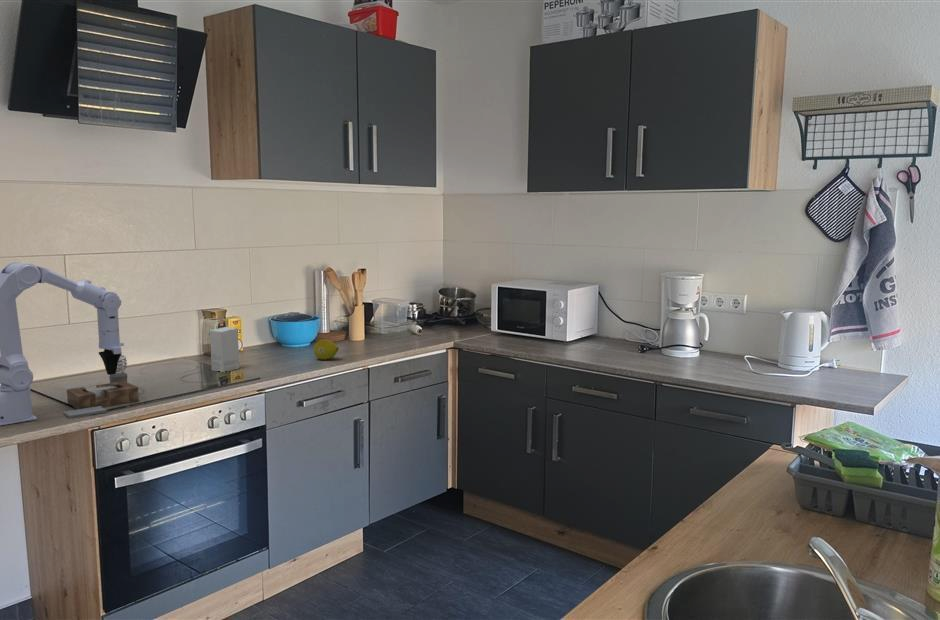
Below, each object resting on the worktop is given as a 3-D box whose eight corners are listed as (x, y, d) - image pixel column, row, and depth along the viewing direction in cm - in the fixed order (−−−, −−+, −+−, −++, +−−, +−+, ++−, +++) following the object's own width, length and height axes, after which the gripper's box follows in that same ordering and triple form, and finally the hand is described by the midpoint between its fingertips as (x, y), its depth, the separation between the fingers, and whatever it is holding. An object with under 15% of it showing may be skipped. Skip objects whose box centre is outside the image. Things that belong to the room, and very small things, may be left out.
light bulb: (118, 392, 242) (116, 356, 240) (105, 391, 244) (103, 355, 242) (132, 389, 247) (130, 353, 245) (119, 387, 249) (117, 352, 247)
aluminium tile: (89, 399, 225) (89, 391, 224) (85, 397, 228) (85, 389, 227) (117, 395, 230) (117, 387, 230) (113, 393, 233) (113, 385, 233)
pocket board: (79, 411, 219) (78, 396, 219) (67, 403, 228) (66, 389, 227) (138, 401, 231) (138, 387, 230) (125, 394, 239) (124, 381, 239)
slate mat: (69, 418, 211) (69, 415, 211) (63, 414, 215) (63, 411, 215) (106, 412, 218) (106, 409, 218) (100, 408, 222) (100, 405, 222)
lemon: (308, 359, 297) (308, 340, 296) (322, 356, 303) (322, 337, 302) (328, 362, 291) (328, 342, 290) (342, 359, 297) (342, 339, 296)
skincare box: (228, 367, 283) (226, 326, 281) (240, 369, 279) (239, 327, 277) (210, 371, 275) (208, 329, 273) (222, 373, 272) (221, 330, 270)
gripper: (130, 331, 226) (133, 375, 228) (114, 326, 236) (117, 368, 238) (105, 334, 221) (108, 379, 223) (90, 328, 232) (93, 371, 233)
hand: (111, 374), depth 230 cm, fingers closed
